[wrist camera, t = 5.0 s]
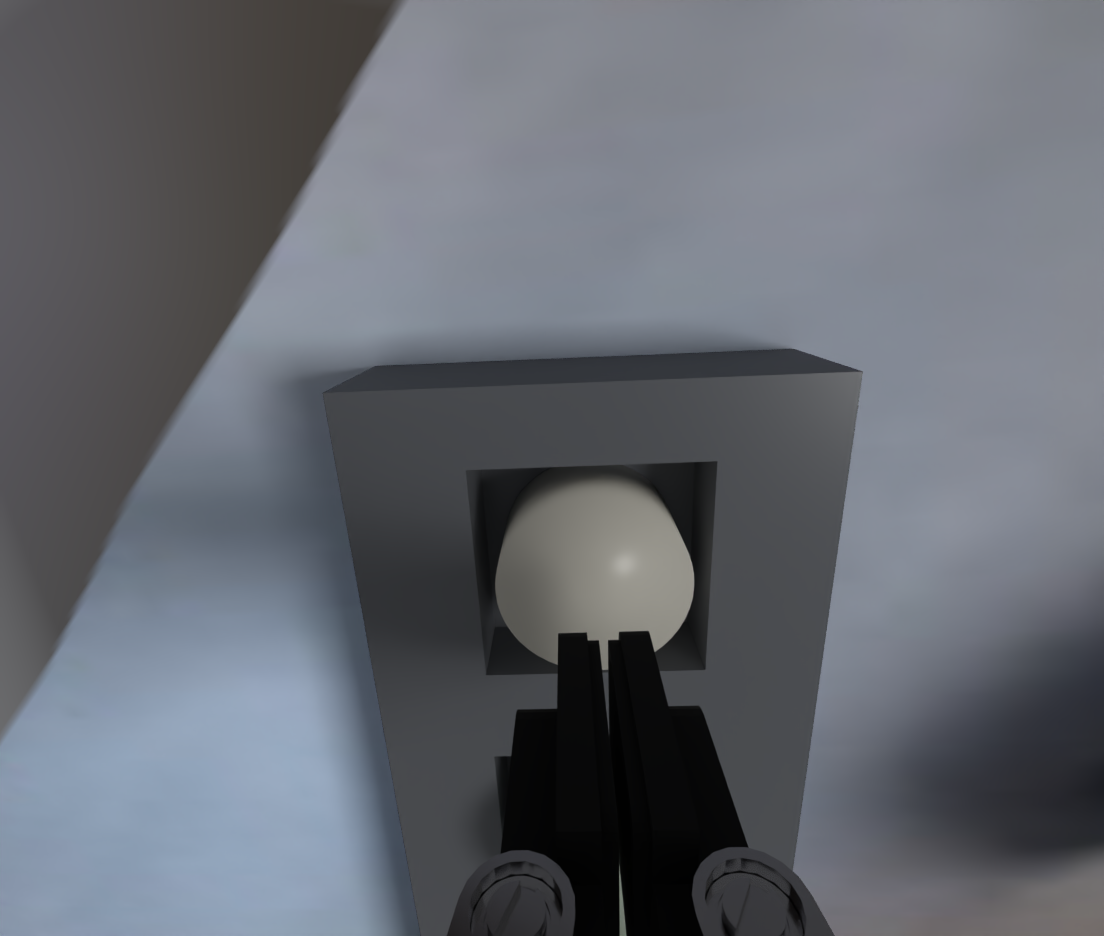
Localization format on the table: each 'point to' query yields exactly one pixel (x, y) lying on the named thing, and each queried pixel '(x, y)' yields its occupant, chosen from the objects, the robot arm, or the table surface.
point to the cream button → (592, 560)
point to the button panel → (476, 540)
